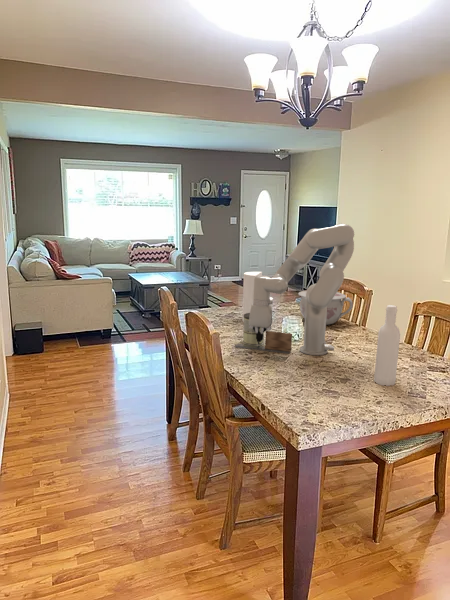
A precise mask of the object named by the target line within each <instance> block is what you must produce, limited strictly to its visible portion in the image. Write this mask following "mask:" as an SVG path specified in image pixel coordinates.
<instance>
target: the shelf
mask: <svg viewBox="0 0 450 600" xmlns="http://www.w3.org/2000/svg"><path fill="white" fill-rule="evenodd" d="M292 341H293V333H290V332H289V333H288V332H280V331H271V330H267V331H265V340H264V343H265V345H264V347H265V349H272V350H280V351H289V352H290V353H291V351H292V348H293V347H292Z"/></svg>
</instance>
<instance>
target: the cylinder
mask: <svg viewBox="0 0 450 600" xmlns="http://www.w3.org/2000/svg"><path fill="white" fill-rule="evenodd" d="M260 275H263V271H246V272H244V273H243V284H242V285H243V287H242V289H243V290H242V291H243V292H242V316H241V317H242V318H241V321H242V322H243V323H244V314H246V313H250V310H251V306H252V304H253V294H254V278H255V277H256V276H260ZM270 301H273V302H274V298H273V297H272V296H270ZM273 304H274V303H273ZM273 304H270V306H271V309H272V310H273V307H274V305H273Z"/></svg>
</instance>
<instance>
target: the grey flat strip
mask: <svg viewBox="0 0 450 600" xmlns="http://www.w3.org/2000/svg"><path fill="white" fill-rule="evenodd" d="M235 348H240V349H248V350H249V349H250V350H256V351H264V352H272V353H273V352H274V353H281V354H288V355H289V354H290V353H291V352H289V351H280V350H272V349H265V346H263V345H260V346H255V345H247V344H244V343H237V344H235Z"/></svg>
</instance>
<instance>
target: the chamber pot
mask: <svg viewBox="0 0 450 600" xmlns="http://www.w3.org/2000/svg"><path fill="white" fill-rule="evenodd" d="M306 291H307V289H306V290H302V291H299V292H298V293H297V295H298V296H300V297H301V299H300V301H299V308H300V309H299V310H300V313H301V315H302V317H303V319H304V320H305V311H306ZM344 302H348V303H349V308H348V309H347V310H346V311H344V312H343V306H345V305H344ZM353 302H354V301H352V298H350V297H347V295H346V294H345V293H341V292H339V291H337V293H336V294H335V296H334V297H333V299H332V301H331V302H330V303H329V305H328V306H327V316H326V326H329V325H332V324H335V323H336V322H337V321H339V320H340V319H341V318H342V317H343V316H345V315H346V314H348V313H350V311H352V310H353V308H354V303H353Z"/></svg>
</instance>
